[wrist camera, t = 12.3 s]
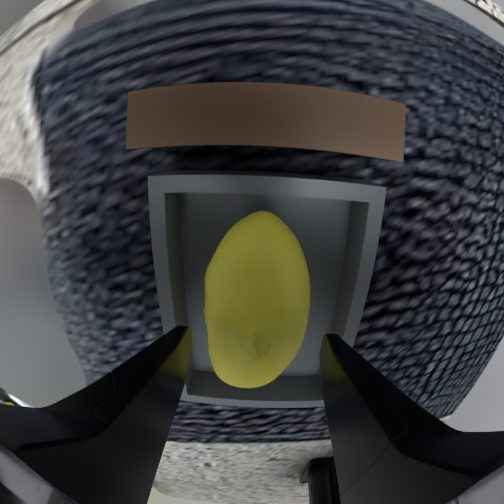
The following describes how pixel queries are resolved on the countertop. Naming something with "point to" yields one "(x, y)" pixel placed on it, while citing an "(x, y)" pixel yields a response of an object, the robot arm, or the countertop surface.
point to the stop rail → (266, 118)
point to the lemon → (256, 301)
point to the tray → (313, 246)
